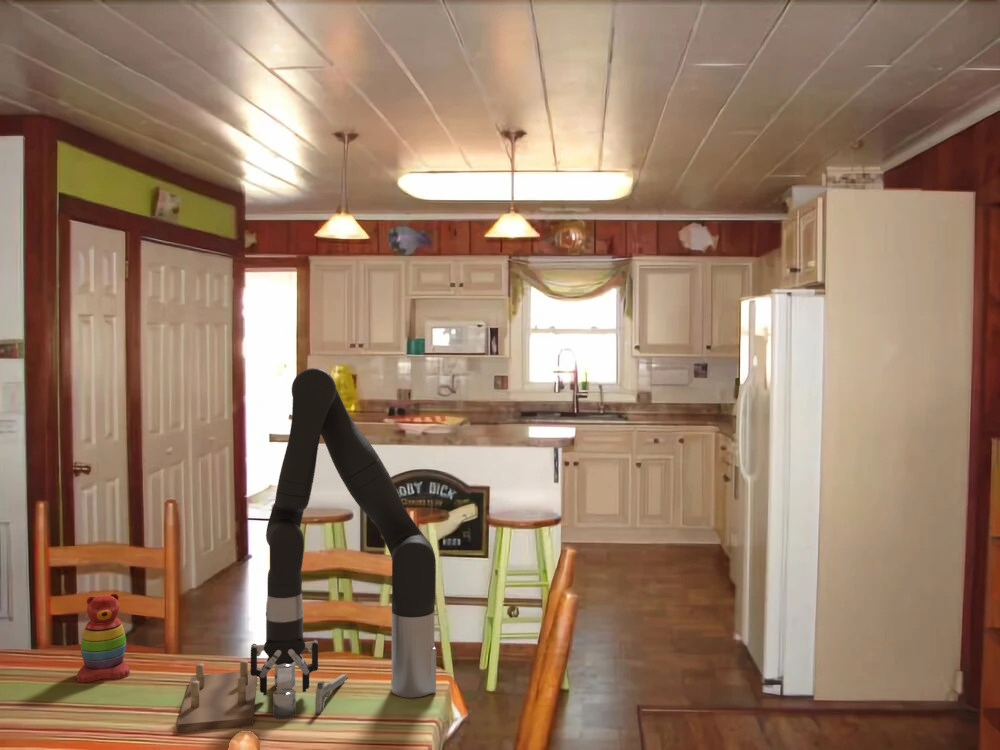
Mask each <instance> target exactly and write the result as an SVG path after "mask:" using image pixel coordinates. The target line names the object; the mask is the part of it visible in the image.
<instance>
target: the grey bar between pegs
mask: <svg viewBox="0 0 1000 750" xmlns="http://www.w3.org/2000/svg"><path fill="white" fill-rule="evenodd" d="M294 685H295V686H296V663H295V662H293V663H292V664H286V663H284V664H281V665H277V664H275V663H274V687H275V686H276V687H277V688H276V687H275V688H276V690H275V691H273V692H272V694H273V695H272V702H273V703H272V717H273V718H274V719H278V720H287V719H292V718H293V717H294V716H296V714H297V713H296V711H297V709H296V708H297V706H296V705H297V704H296V703H297V702H296V698H297V697H296V695H297V692H296V690H295V689H294V688H293V687H295V686H294ZM292 686H293V687H292Z"/></svg>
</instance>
